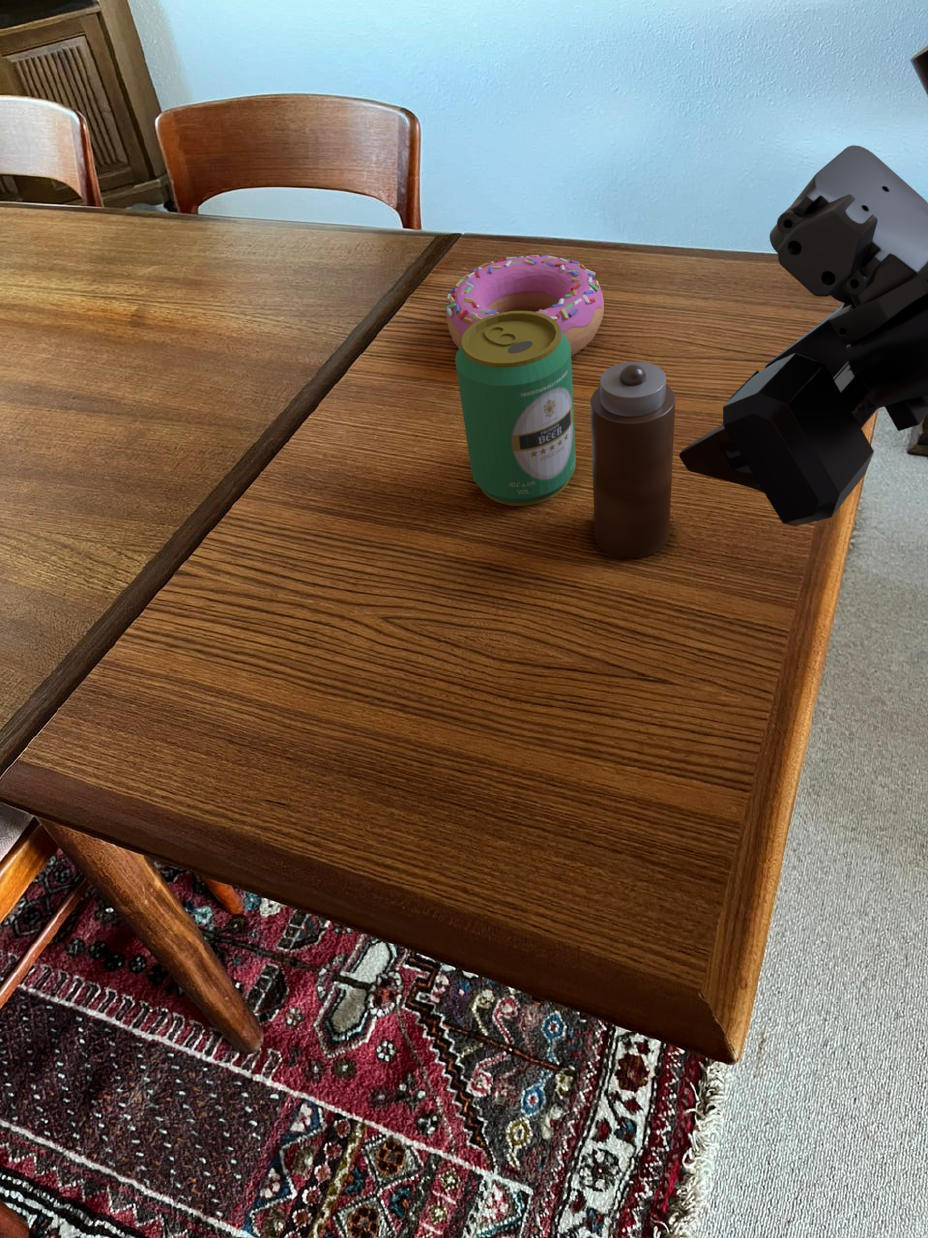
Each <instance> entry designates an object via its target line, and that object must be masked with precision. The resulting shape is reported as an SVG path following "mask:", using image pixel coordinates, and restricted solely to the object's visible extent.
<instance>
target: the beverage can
mask: <svg viewBox="0 0 928 1238" xmlns="http://www.w3.org/2000/svg"><path fill="white" fill-rule="evenodd" d="M461 341H462V344H461V346H460V348H458V350H457V352H456V354H455V358H454V360H455V361H454V362H455V368H456V376H457V380H458V381H457V382H458V389H459V397H460V403H461V410H462V416H463V417H462V418H463V423H464V431H465V437H466V445H467V451H468V458H469V463H470V464H469V465H470V473H471V476H472V479H473V481H474V482H475V484H476V485H477V486H478V487H479V488H480V490H481V491H482V492H483V494H484V495H485V496H486V497H487V498H489V499H490V500H492V501H494V502H496V503H499V504H502V505H507V506H515V507H526V506H527V507H528V506H533V505H537V504H541V503H544V502H547V501H549V500H551V499H554V498H555V497H556V496H558V495H559V494H560V493H561V492H563V491H564V490H565V488H566V487H567V485H568V484H569V482H570V479H571V477H572V476H573V474H574V473H575V469H576V467H577V456H576V455H577V454H576V432H575V412H574V411H575V410H574V389H573V367H572V365H573V363H572V356H571V347H570V343H569V341H568V340H567V338H566V337H565V336H564V334H563V333H562V332H561V328H560V326H559V324H558V323H557V322H556V321H555V320H554V319H552V318H551V317H549V316H547V315H544V314H541V313H537V311H534V312H531V311H508V312H502V313H497V314H494V315H490V316H488V317H485V318H483V319H481V320H479V321H477V322H475V323H474V324H472V325H471V326H470V327H469V328H468V329H467V330H466V331H465V332H464V334H463V336H462V340H461Z"/></svg>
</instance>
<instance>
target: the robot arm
mask: <svg viewBox="0 0 928 1238" xmlns="http://www.w3.org/2000/svg"><path fill="white" fill-rule="evenodd" d="M909 61H910V64H911V66H912V68H913V70H914V72H915V74H916V76H917V78H918V80H919V82H920V84H921V87H922V88H923V90H924V92H925V95H926V96H927V97H928V44H927V45H926V46H925V47H923V48H922V49H920V50H919V51H918V52H917V53H916V54H915V55H913V56H912V57H911V58H910V59H909ZM769 242H770V244H771V246H772V248H773V250H774V251H775V253H777V261H778V263H779V265H780V266H781V267H782V268H783V269H784V270H785V271H786V272H788V274H789V275H791V277H793V278H794V279H795V280H796V281H798V282H799V284H801V285H802V286H803V287H804V288H805V289H806V290H807V291H808V292H810V293H811V295H813V296H814V297H824V298H825V297H830V296H831V297H832V298H833V299H834V300H835V301H838V302H840V303H843V305H841V306H840V307H838V308H837V309H836V310H835V311H833V312H832V313H831V314H829V316H826V318H824V320H822V321H821V322H819V323H818V324H816V325H815V326H814V327H813V328H811V329H810V330H809V331H807V332H806V333H805V334H803V336H801V337H799V338H798V339H797V340H796V341H795V342H793V343H792V344H791V345H789V346H788V347H787V348H786V349H784V350H783V351H782V352H780V353H779V354H778V355H776V356H774V358H772V359H771V360H770V361H769V362H768V363H767V364H766V365H765V367H764V369H762V370H761V371H759V369H757V370H756V371H755V372H754V373H753V374H751V376H749V378H748V379H747V380H745V382H744V383H743V384H742V385H741V386H740V387H739V388H738V389H737V390H736V391H735V392H734V393H733V394H732V395H731V397H730V398H729V399H728V401H727V402H726V403H725V404H724V405H723V406H722V423H721V424H720V425H718V426H717V427H715V428H714V429H712V430H711V431H709V432H707V433H706V434H704V435H703V436H701V437H700V438H698V439H697V440H695V441H693V442H692V443H690V444H689V445H688V446H686V447H685V448H683V449H682V450H681V451H680V452H679V454H678V457H679V459H680V461H681V462H682V464H683V465H684V467H685V468H686V470H687V471H689V472H691V473H693V474H698V475H701V476H706V477H709V478H713V479H717V480H720V481H724V482H729V483H732V484H736V485H740V486H743V487H747V488H750V489H753V490H756V491H758V492H761V493H763V494H764V495H765V497H766V498H767V500H768V502H769V503H770V505H771V506H772V508H773V510H774V511H775V513H776V514H777V516H778V518H779V519H780V521H781V523H782V524H784V525H786V526H787V525H788V526H792V527H799V526H803V525H807V524H810V523H815V522H819V521H824V520H826V519H827V520H828V519H830V518H833V516H834V515H835V514H836V513H837V511H838V510H839V508H841V506H842V505H843V504H844V502H845V501H846V500H847V498H848V497H849V496H850V494H851V493H853V491H854V490H855V488H856V487H857V486H858V484H859V483H860V482H861V480H862V479H863V478H864V477H865V475H866V473H867V471H868V469H869V466H870V464H871V461H872V459H873V456H874V453H875V450H874V449H873V447H872V444H871V443H870V441H869V439H868V437H867V436H866V434H865V433H864V431H863V428H864V427H865V426H866V424H867V423H868V422H869V421H870V419H871V418H872V417H873V416H874V415H875V413H876V412H877V411H878V410H879V409H882V408H885V410H886V412H887V414H888V415H889V417H890V419H891V421H892V423H893V424H894V427H895V428H896V430H897V432H901V431H904V430H907V429H911V428H913V427H917V426H920V425H921V424H922V423H923V420H924V419H925V418H926V417H927V415H928V201H927V200H926V199H925V198H924V197H922V196H921V195H920V194H919V193H918V192H917V191H916V190H915V189H914V188H913V187H912V186H911V185H909V184H908V183H907V182H906V181H905V180H904V179H903V178H901V176H899V175H898V174H897V173H896V172H895V171H894V170H892V168H891V167H889V165H887V164H886V163H885V162H883V160H881V159H880V158H879V157H878V156H877V155H876V154H874V152H872V151H871V150H869V149H867V148H865V147H863V146H860V145H855V144H853V145H849V146H847V147H846V148H844V149H843V150H842V151H840V152H839V153H838V154H837V155H836V156H835V157H834V158H832V160H830V161H829V162H828V163H827V164H826V165H824V166H823V167H822V168H821V169H820V170H818V171H817V172H816V173H815V174H814V175H813V177H812V178H811V179H810V180H809V182H808V183H807V185H806V186H805V187H804V189H803V190H802V191H801V192H800V194H799V195H798V196H797V197H796V198H795V200H794V201H793V202H792V204H791V205H790V206H789V207H788V208H787V209H786V210H785V211H783V212H782V213H781V214H780V215H779V216H778V218H777V221H776V224H775V225H774V226H773V227H772V229H770V233H769Z"/></svg>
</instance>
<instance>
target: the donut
mask: <svg viewBox="0 0 928 1238" xmlns="http://www.w3.org/2000/svg"><path fill="white" fill-rule="evenodd" d="M596 274H597V272H595V271H594V270H591V269H589V268H588V269H587V268H586V267H585V265H584V264H582V263H581V262H579V261H576V260H574V259H569V258H563V257H560V258H559V257H557V256H553V255H550V254H547V255H546V254H545V255H539V254H529V255H526V256H524V255H517V256H506V257H504V258H500V259H496V262H494V261H493V260H492V261H490V262H489V261H488V262H485V263H482V264H481V265H478V267H476V268H473V269H471V270H470V271H469V272H468V273H466V274H465V275H464V276H461V278H460V279H459V280H458V282H457V283H456V284H454V288H453V289H451V290H449V291H448V294H447V299H446V303H447V305H446V306H445V310H446V314H445V317H446V324H447V328H448V332H449V335H450V337H451V338H452V341H453V343H454V344H455V345H456V347H457V348H458V349H459V348H460V346H461V344H462V341H461V340H462V336H463V334H464V332H465V331H466V330H467V329H468V328H469V327H470V326H471V325H472V324H474V323H475V322H477V321H479V320H481V319H483V318H485V317H488V316H490V315H494V314H497V313H502V312H508V311H531V312H537V313H541V314H544V315H547V316H549V317H551V318H552V319H554V320H555V321H556V322H557V323H558V324H559V326H560V328H561V332H562V333H563V334H564V336H565V337H566V338H567V340H568V341H569V343H570V347H571V357H573V356H574V355H576V354H578V353H579V352H581V351H582V350H583V349H584V348H586V346H587V345H589V344H590V342H591V341H592V340H593V339H594V337H595V336H596V334H597V333H598V331H599V329H600V326H601V323H602V322H603V317H604V314H605V312H604V311H605V301H604V295H603V291H602V288H601V286H600V284H599V281H598V280H597V279H595V277H596Z"/></svg>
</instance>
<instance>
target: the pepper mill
mask: <svg viewBox="0 0 928 1238" xmlns="http://www.w3.org/2000/svg"><path fill="white" fill-rule="evenodd" d="M675 416H676V394H675V392H674V390H673V389H672V388H671V386H670V385H668V384H667V375H666V373H665V371H664V370H662V368H660V367H659V366H658V365H655V364H653V363H649V362H645V361H626V362H621V363H617V364H615V365H613V366H610V367H608V368H607V369H606V370H604V372H603V373H602V375H601V376H600V378H599V386H598V387H597V388H596V389H595V390H594V391H593V392H592V395H591V397H590V426H591V428H590V429H591V460H592V461H591V462H592V488H593V489H592V494H593V528H594V539H595V542H596V544H597V545H598V546H599V547H600V549H601V550H603V551H604V552H605V553H607V554H609V555H611V556H614V557H617V558H620V559H621V558H622V559H633V560H634V559H642V558H645V557H649V556H652V555H653V554H656V553H657V552H660V551H661V549H663V548H664V547H665V545H667V543H668V541H669V539H670V526H671V525H670V523H671V503H672V483H673V482H672V481H673V462H674V461H673V459H674V441H675V440H674V439H675V437H674V435H675V418H676V417H675Z"/></svg>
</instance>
